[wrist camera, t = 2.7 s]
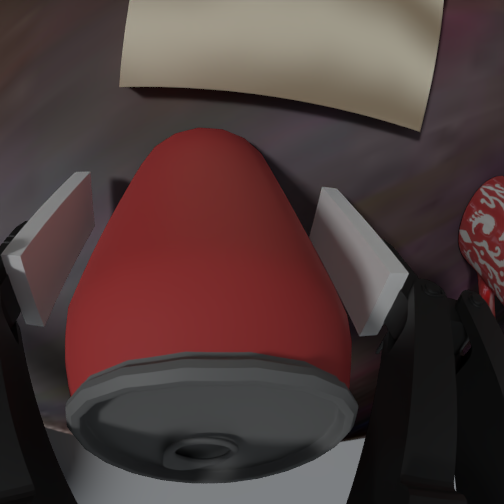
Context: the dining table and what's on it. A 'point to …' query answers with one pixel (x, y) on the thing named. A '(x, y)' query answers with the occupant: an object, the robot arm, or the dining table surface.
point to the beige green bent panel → (291, 51)
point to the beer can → (207, 324)
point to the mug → (486, 239)
